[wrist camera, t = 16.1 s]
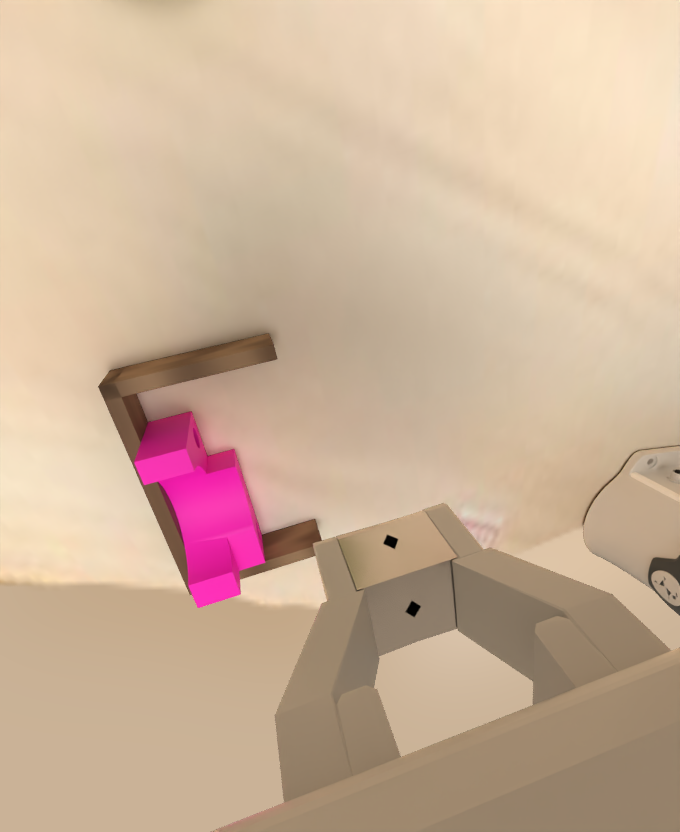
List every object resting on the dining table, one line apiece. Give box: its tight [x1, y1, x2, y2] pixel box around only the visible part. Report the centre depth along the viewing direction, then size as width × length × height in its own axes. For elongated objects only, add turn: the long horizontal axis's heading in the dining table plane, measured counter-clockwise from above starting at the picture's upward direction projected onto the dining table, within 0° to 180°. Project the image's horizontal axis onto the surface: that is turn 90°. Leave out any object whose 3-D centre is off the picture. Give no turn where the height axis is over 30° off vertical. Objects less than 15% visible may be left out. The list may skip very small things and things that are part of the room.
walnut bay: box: [98, 333, 322, 595], centre depth 40 cm, size 13×21×4 cm, turn 10°
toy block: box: [134, 411, 265, 608], centre depth 39 cm, size 15×6×8 cm, turn 10°
